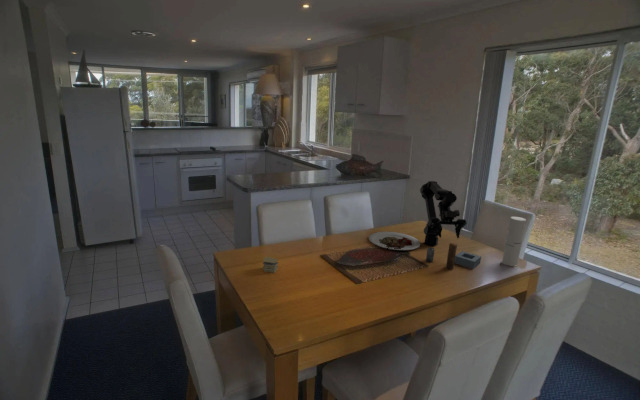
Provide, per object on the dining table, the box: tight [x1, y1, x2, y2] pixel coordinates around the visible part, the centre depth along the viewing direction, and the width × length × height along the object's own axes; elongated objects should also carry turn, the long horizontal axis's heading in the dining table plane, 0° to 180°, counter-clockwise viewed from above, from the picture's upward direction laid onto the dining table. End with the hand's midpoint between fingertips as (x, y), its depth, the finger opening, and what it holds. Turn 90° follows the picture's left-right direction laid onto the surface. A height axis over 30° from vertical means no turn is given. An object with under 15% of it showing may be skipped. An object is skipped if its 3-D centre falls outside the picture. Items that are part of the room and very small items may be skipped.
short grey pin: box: [425, 246, 435, 263], centre depth 190 cm, size 4×4×7 cm
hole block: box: [454, 250, 482, 270], centre depth 190 cm, size 10×10×4 cm
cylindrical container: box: [501, 216, 527, 267], centre depth 191 cm, size 7×7×25 cm
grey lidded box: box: [262, 256, 279, 274], centre depth 169 cm, size 10×9×6 cm
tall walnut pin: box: [445, 241, 458, 270], centre depth 182 cm, size 4×4×13 cm
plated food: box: [368, 231, 421, 251], centre depth 215 cm, size 30×30×3 cm
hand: (449, 237), depth 188 cm, fingers open, 9 cm apart
